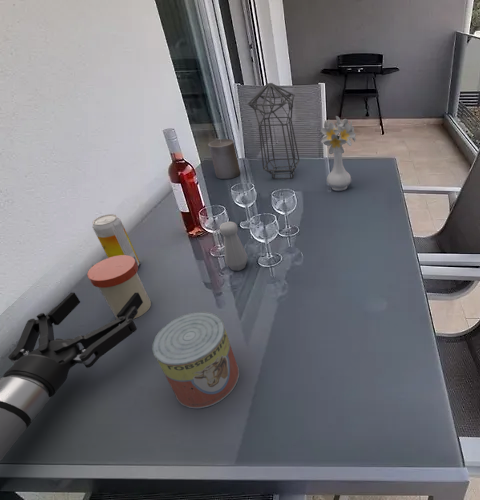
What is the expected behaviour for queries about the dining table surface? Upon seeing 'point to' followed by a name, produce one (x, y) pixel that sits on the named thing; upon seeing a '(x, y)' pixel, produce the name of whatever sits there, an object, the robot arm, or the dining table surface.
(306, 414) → the dining table surface
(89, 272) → the lid
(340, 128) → the flower vase
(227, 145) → the pillar candle
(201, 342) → the canned food
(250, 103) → the geometric lantern
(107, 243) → the beer can
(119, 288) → the jam jar
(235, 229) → the salt shaker
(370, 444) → the dining table surface
